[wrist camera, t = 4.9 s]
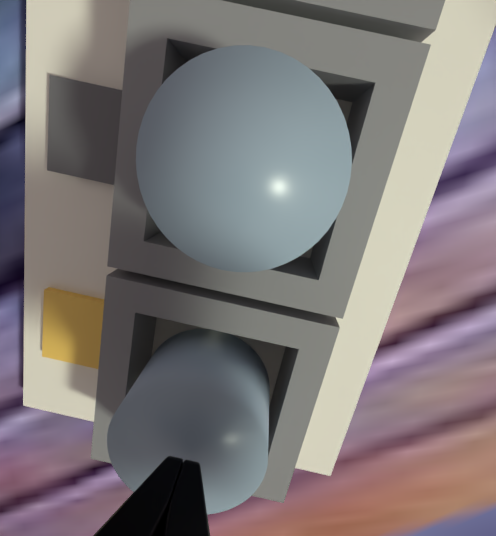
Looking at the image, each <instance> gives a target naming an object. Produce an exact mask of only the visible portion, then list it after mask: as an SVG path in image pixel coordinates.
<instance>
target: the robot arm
mask: <svg viewBox="0 0 496 536" xmlns="http://www.w3.org/2000/svg"><path fill="white" fill-rule="evenodd" d="M94 536H210V532H209V524H208V517H207V510H206V503H205V495H204V488H203V481H202V473H201V466H200V463H199V462H195V461H191V460H185V461H184V462H183V459H182V458H178V457H174V456H168V457H166V458H165V459H164V460H163V461H162V463H161V464H160V465H159V466H158V467H157V468H156V469H155V470H154V471H153V472H152V473H151V474H150V475H149V477H148V478H147V479H146V480H145V481H144V482H143V483H142V484H141V485H140V486H139V487H138V488H137V489H136V490H135V492H134V493H133V494H132V495H131V496H130V497H129V498H128V499H127V500H126V501H125V502H124V503H123V504H122V506H121V507H120V508H119V509H118V510H117V511H116V512H115V513H114V514H113V515H112V516H111V517H110V518H109V520H108V521H107V522H106V523H105V524H104V525H103V526H102V527H101V528H100V529H99V530H98V531H97V532H96V533H95V535H94Z"/></svg>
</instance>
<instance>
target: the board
mask: <svg viewBox="0 0 496 536" xmlns="http://www.w3.org/2000/svg"><path fill="white" fill-rule="evenodd" d="M495 25H496V0H26V120H25V246H24V371H23V406H28V407H32V408H36V409H41V410H45V411H49V412H54V413H58V414H62V415H67V416H71V417H76V418H80V419H84V420H89V421H93V422H94V427H93V438H92V450H91V459H95V460H99V461H104V462H108V463H111V461H110V457H109V454H108V448H107V433H108V427H109V424H110V422H111V419H112V417H113V415H114V414H115V412H116V410H117V409H118V407H119V406H120V404H121V403H122V401H123V400H124V398H125V397H126V395H127V394H128V392H129V390H130V389H131V387H132V386H133V384H134V383H135V381H136V380H137V378H138V377H139V375H140V374H141V372H142V371H143V369H144V368H145V366H146V364H147V363H148V361H149V360H150V358H151V357H152V355H153V354H154V352H155V351H156V350H157V348H158V347H159V346H160V345H161V344H162V343H163V342H164V341H166V340H167V339H169V338H170V337H172V336H174V335H176V334H178V333H180V332H183V331H187V330H192V329H211V330H216V331H220V332H224V333H229V334H231V335H234V336H236V337H238V338H239V339H241V340H243V341H244V342H245V343H247V344H248V345H249V346H250V347H251V348H252V349H253V350H255V352H256V353H257V354H258V355H259V357H260V358H261V360H262V361H263V363H264V365H265V367H266V370H267V373H268V377H269V384H270V390H269V437H268V465H267V470H266V474H265V476H264V479H263V481H262V482H261V484H260V486H259V487H258V489H257V490H256V491H255V492H254V494H252V495H251V496H256V497H260V498H264V499H269V500H273V501H277V502H282V503H284V500H285V497H286V494H287V491H288V487H289V484H290V481H291V478H292V475H293V472H294V469H295V468H298V469H303V470H307V471H311V472H316V473H320V474H324V475H329V476H331V473H332V470H333V467H334V465H335V462H336V459H337V457H338V454H339V451H340V448H341V446H342V443H343V440H344V437H345V435H346V432H347V429H348V427H349V424H350V421H351V418H352V416H353V413H354V410H355V407H356V405H357V402H358V399H359V397H360V394H361V391H362V388H363V386H364V383H365V380H366V377H367V375H368V372H369V369H370V367H371V364H372V361H373V358H374V356H375V353H376V350H377V347H378V345H379V342H380V339H381V336H382V334H383V331H384V328H385V326H386V323H387V320H388V317H389V315H390V312H391V309H392V306H393V304H394V301H395V298H396V296H397V293H398V290H399V287H400V285H401V282H402V279H403V276H404V274H405V271H406V268H407V266H408V263H409V260H410V257H411V255H412V252H413V249H414V246H415V244H416V241H417V238H418V236H419V233H420V230H421V227H422V225H423V222H424V219H425V216H426V214H427V211H428V208H429V205H430V203H431V200H432V197H433V195H434V192H435V189H436V186H437V184H438V181H439V178H440V175H441V173H442V170H443V167H444V165H445V162H446V159H447V156H448V154H449V151H450V148H451V145H452V143H453V140H454V137H455V135H456V132H457V129H458V126H459V124H460V121H461V118H462V115H463V113H464V110H465V107H466V105H467V102H468V99H469V96H470V94H471V91H472V88H473V85H474V83H475V80H476V77H477V75H478V72H479V69H480V66H481V64H482V61H483V58H484V55H485V53H486V50H487V47H488V44H489V42H490V39H491V36H492V34H493V31H494V28H495ZM234 45H252V46H259V47H266V48H269V49H272V50H276V51H279V52H282V53H284V54H286V55H288V56H290V57H292V58H294V59H296V60H298V61H299V62H301V63H302V64H304V65H305V66H307V67H308V68H309V69H310V70H311V71H312V72H314V73H315V74H316V75H317V76H318V77H319V78H320V79H321V80H322V81H323V83H324V84H325V85H326V86H327V87H328V88H329V90H330V91H331V93H332V94H333V96H334V98H335V99H336V101H337V102H338V104H339V107H340V109H341V111H342V113H343V115H344V118H345V121H346V124H347V128H348V131H349V136H350V142H351V150H352V167H351V178H350V182H349V187H348V191H347V194H346V197H345V200H344V203H343V206H342V208H341V210H340V212H339V214H338V216H337V217H336V219H335V221H334V222H333V224H332V225H331V227H330V228H329V230H328V231H327V232H326V233H325V234H324V236H323V237H322V238H321V239H320V240H319V241H318V242H317V243H316V244H315V245H314V246H313V247H311V248H310V249H309V250H308V251H306V252H305V253H304V254H302V255H301V256H299V257H298V258H296V259H294V260H292V261H290V262H288V263H286V264H284V265H281V266H278V267H275V268H272V269H268V270H263V271H256V272H232V271H225V270H220V269H217V268H213V267H210V266H207V265H205V264H203V263H200V262H198V261H196V260H195V259H193V258H191V257H189V256H188V255H186V254H185V253H183V252H182V251H181V250H179V249H178V248H177V247H175V246H174V245H173V244H172V243H171V242H170V241H169V240H168V239H167V238H166V237H165V235H164V234H163V233H162V232H161V231H160V229H159V228H158V227H157V225H156V224H155V222H154V220H153V219H152V217H151V216H150V214H149V212H148V209H147V207H146V205H145V203H144V200H143V197H142V194H141V191H140V188H139V183H138V178H137V170H136V145H137V139H138V133H139V129H140V126H141V122H142V119H143V116H144V114H145V112H146V110H147V107H148V105H149V103H150V101H151V100H152V98H153V96H154V95H155V93H156V92H157V90H158V89H159V88H160V86H161V85H162V84H163V83H164V82H165V80H166V79H167V78H168V77H169V76H170V75H171V74H172V73H174V72H175V71H176V70H177V69H178V68H179V67H181V66H182V65H184V64H185V63H186V62H188V61H189V60H191V59H193V58H195V57H197V56H199V55H201V54H203V53H205V52H208V51H211V50H214V49H217V48H222V47H228V46H234Z"/></svg>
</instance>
